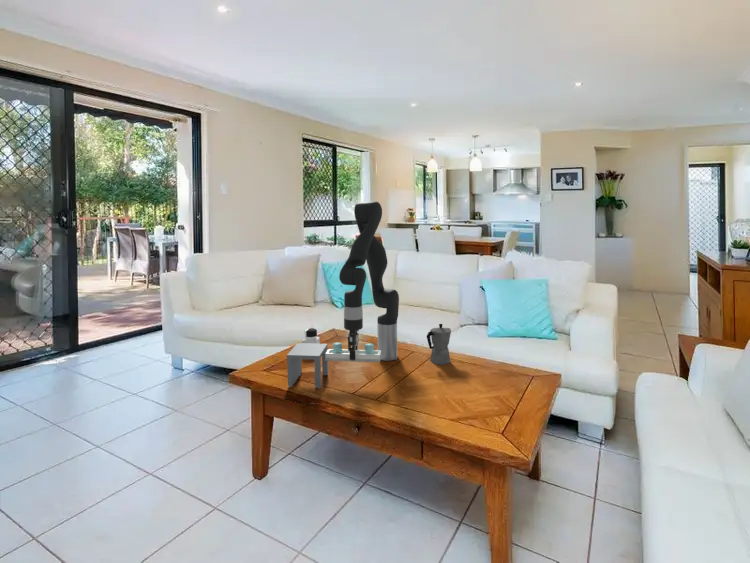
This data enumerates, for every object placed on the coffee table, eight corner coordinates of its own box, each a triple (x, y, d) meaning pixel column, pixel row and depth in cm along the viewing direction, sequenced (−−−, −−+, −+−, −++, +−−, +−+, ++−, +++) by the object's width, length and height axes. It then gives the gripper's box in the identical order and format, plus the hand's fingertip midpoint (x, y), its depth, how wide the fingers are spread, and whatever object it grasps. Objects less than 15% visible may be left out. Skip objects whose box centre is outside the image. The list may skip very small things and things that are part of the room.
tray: (381, 357, 184) (381, 342, 183) (379, 362, 178) (379, 347, 177) (328, 355, 186) (328, 341, 185) (325, 360, 181) (325, 345, 180)
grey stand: (328, 373, 193) (327, 343, 191) (320, 388, 177) (319, 355, 175) (298, 373, 194) (297, 343, 192) (288, 387, 179) (286, 355, 176)
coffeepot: (442, 355, 216) (442, 319, 213) (457, 361, 208) (458, 323, 206) (419, 363, 206) (419, 325, 203) (434, 368, 199) (435, 329, 196)
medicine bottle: (320, 350, 225) (319, 327, 223) (316, 355, 218) (316, 331, 216) (306, 350, 226) (305, 327, 224) (302, 354, 219) (301, 330, 217)
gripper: (360, 321, 172) (360, 363, 175) (364, 313, 186) (364, 351, 189) (341, 321, 173) (341, 362, 176) (346, 312, 187) (347, 351, 190)
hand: (353, 357), depth 182 cm, fingers closed on tray, 6 cm apart
